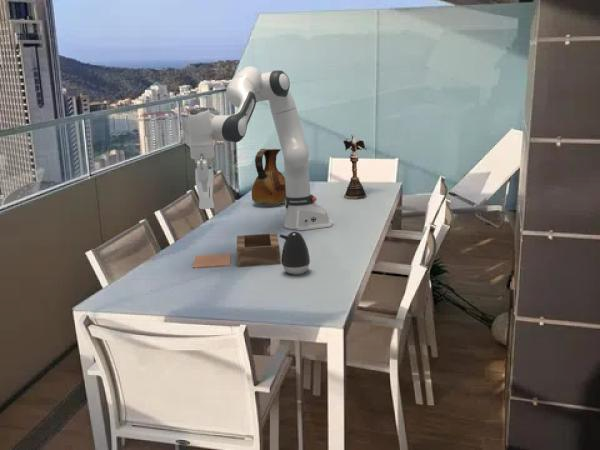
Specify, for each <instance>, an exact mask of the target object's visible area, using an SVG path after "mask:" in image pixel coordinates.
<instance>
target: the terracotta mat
mask: <svg viewBox="0 0 600 450" xmlns="http://www.w3.org/2000/svg"><path fill="white" fill-rule="evenodd" d="M192 263H193V264H192V269H203V268H217V267H230V266H231V253H216V254H215V253H214V254H203V255H195V256H194V259H193V262H192Z"/></svg>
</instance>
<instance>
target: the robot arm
mask: <svg viewBox="0 0 600 450" xmlns="http://www.w3.org/2000/svg"><path fill="white" fill-rule="evenodd" d="M225 91H226V97H227V100H228V101H229V102H230V104H232V106H234V107H235V108H237V110H236V112H235V113H233V114H221V115H219V114H215V113H212V112H211V111H210V110H209V108H208V107H197V108H193V109H191V110H189V112H188V114H187V115H188V117H187V131H188V136H189V139H190V140H189V151H190V159H192V160H194V163H195V164H196V168H197V175H198V181H199V182H201V184H202V190H203V192H207V191H208V188H207V182H208V179H209V170H208V169H209V167H212V161H213V159H214V158H215V156H216V155H215V143H214V142H231V143H238V142H240V141H242V139H244V138H245V135H246V133H247V128H248V126H249V122H250V121H251V117H252V116H253V113H254V111H255V108H256V105H257V103H259V102H264V101H265V102H266V101H269V109H270V112H271V116H272V119H273V120H272V121H273V123H274V127H275V130H276V133H277V137H278V141H279V145H280V148H281V151H282V155H283V167H284V177H285V188H286V196H285V202H284V206H285V217H284V218H285V221H284V224H283V226H284V228H286V229H292V230H297V231H307V230H308V231H309V230H315V229H323V228H331V227H332V226H333V225H334V222H333V220H332V219H331V218H329V216H328V212H327V211H326V209H325V208H324V207H322V206H320V205H319V204H317V203H316V201H317V197H316V196H315V195H313V194H311V188H310V187H311V186H310V169H309V158H310V152H309V149H308V145H307V142H306V139H305V133H304V132H303V127H302V124H301V120H300V117H299V114H298V109H297V107H296V104H295V100H294V97H293V95H292V93H291V91H290V79H289V76H288V75H287V73H285V72H284V71H283V70H272V71H267V72H264V73H261V71H260V70H259V69H258V68H257V67H255V66H250V65H248V66H245V67H244V68H242V69H241V70H239V71H238V72H237V73H236V74H235V76H233V78H232V79H231V80H230V82H229V83H228V85H227V86H226V90H225ZM212 158H213V159H212Z"/></svg>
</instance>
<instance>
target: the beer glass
mask: <svg viewBox="0 0 600 450" xmlns="http://www.w3.org/2000/svg"><path fill="white" fill-rule="evenodd" d="M208 170H209V179H208V182H207V188H208V191H207V192H203V190H202V184H201V182H199V181H198V175H197V167H196V168H195V170H194V171H195V185H196V190H197V193H198V201H199V204H198V208H199V209H200V210H209V209H215V208H216V204H215V199H214V192H215V174H214V167H212V166H211V167H209V169H208Z"/></svg>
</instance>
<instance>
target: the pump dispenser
mask: <svg viewBox="0 0 600 450" xmlns="http://www.w3.org/2000/svg"><path fill="white" fill-rule="evenodd" d="M279 238H281V239H284V240H285V241H284V244H283V247H282V251H281V265H282V267H283V269H284V271H285V272H286V273H287V274H290V275H294V276H296V275H302V274H304V273H305V272H306V271H307V270H308V269H309V265H310V264H311V258H310V257H311V256H310V252H309V248H308V245H307V242H306V240H305V238H304V237H303V235H302V234H301V232H298V231H295V230H294V231H290V233H288V234H287V235H285V234H283V233H282V234H279Z"/></svg>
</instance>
